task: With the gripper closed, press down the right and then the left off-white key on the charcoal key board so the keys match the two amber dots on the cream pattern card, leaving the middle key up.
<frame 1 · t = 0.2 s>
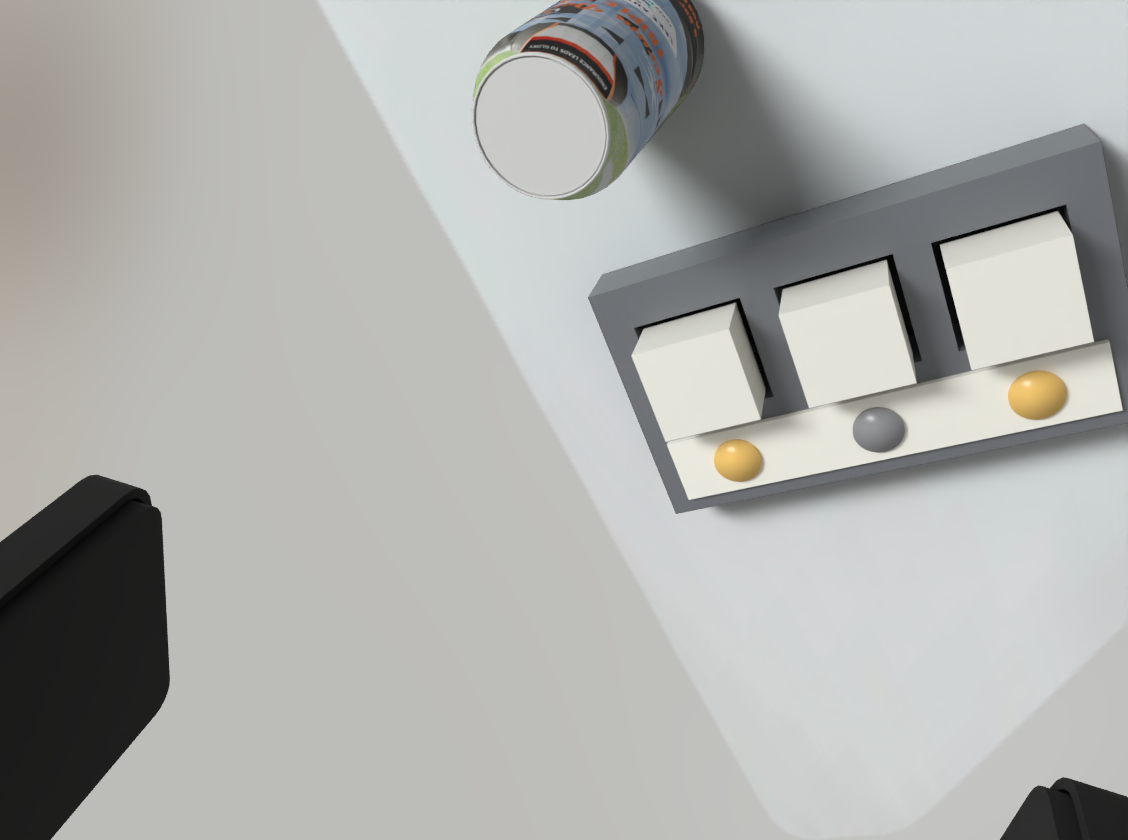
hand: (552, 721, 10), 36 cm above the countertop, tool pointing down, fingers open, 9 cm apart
middle key: (847, 334, 41), point 4 cm above the countertop, slide at 0.0 cm
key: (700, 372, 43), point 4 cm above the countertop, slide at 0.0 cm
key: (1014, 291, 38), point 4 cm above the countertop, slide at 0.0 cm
beverage can: (627, 53, 42), on the countertop
key board: (856, 328, 45), on the countertop
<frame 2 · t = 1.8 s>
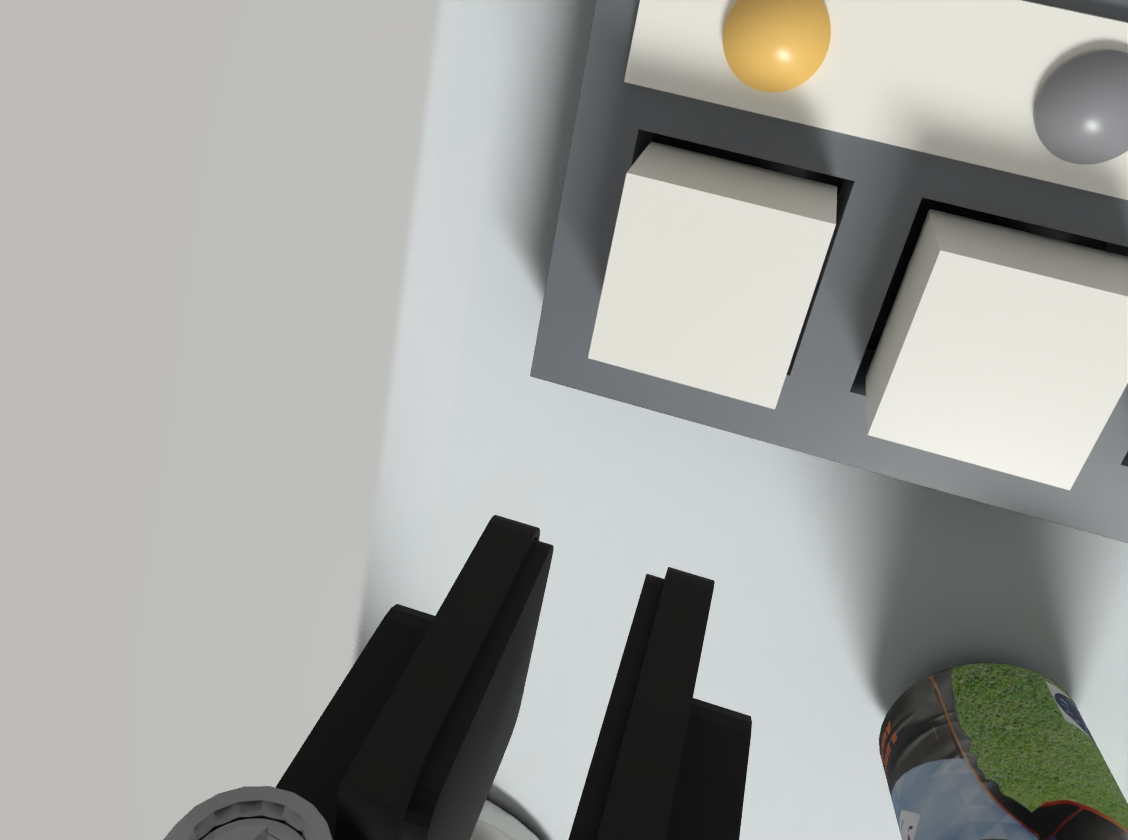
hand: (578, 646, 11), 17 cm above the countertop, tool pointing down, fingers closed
middle key: (998, 346, 21), point 4 cm above the countertop, slide at 0.0 cm
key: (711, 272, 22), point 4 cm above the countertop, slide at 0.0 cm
beverage can: (997, 709, 31), on the countertop
key board: (1000, 228, 24), on the countertop
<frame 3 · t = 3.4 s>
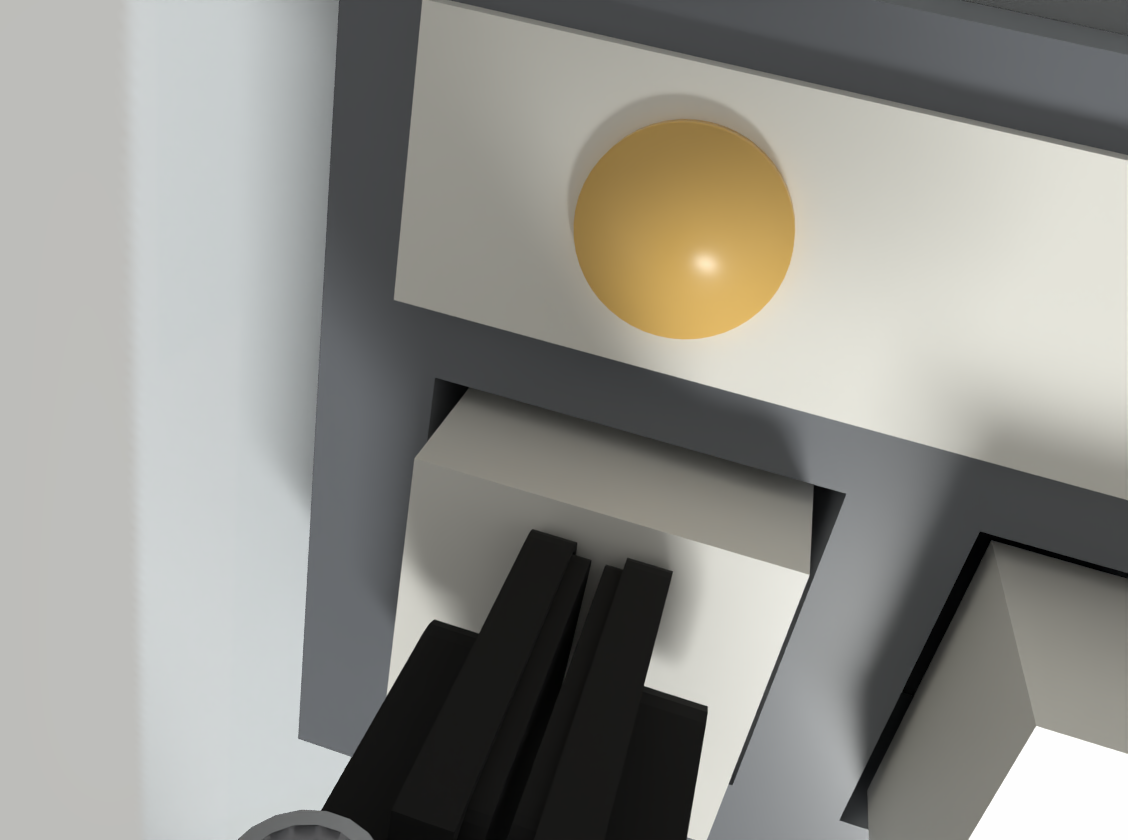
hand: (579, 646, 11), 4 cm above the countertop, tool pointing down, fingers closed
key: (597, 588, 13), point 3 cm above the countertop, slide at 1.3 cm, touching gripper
key board: (1105, 521, 14), on the countertop
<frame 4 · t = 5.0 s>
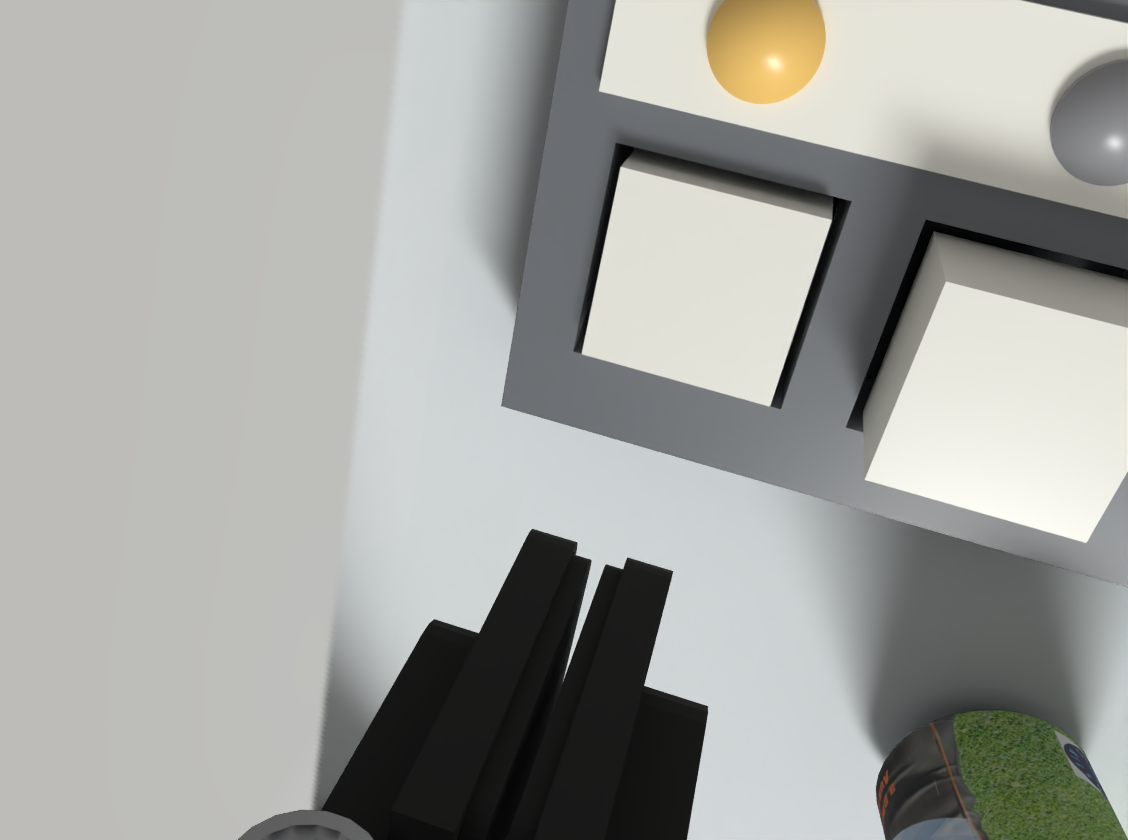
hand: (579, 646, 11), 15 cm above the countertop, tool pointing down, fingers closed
middle key: (1008, 383, 20), point 4 cm above the countertop, slide at 0.0 cm
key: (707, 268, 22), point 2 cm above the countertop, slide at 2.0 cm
beverage can: (1002, 755, 29), on the countertop
key board: (1010, 249, 22), on the countertop
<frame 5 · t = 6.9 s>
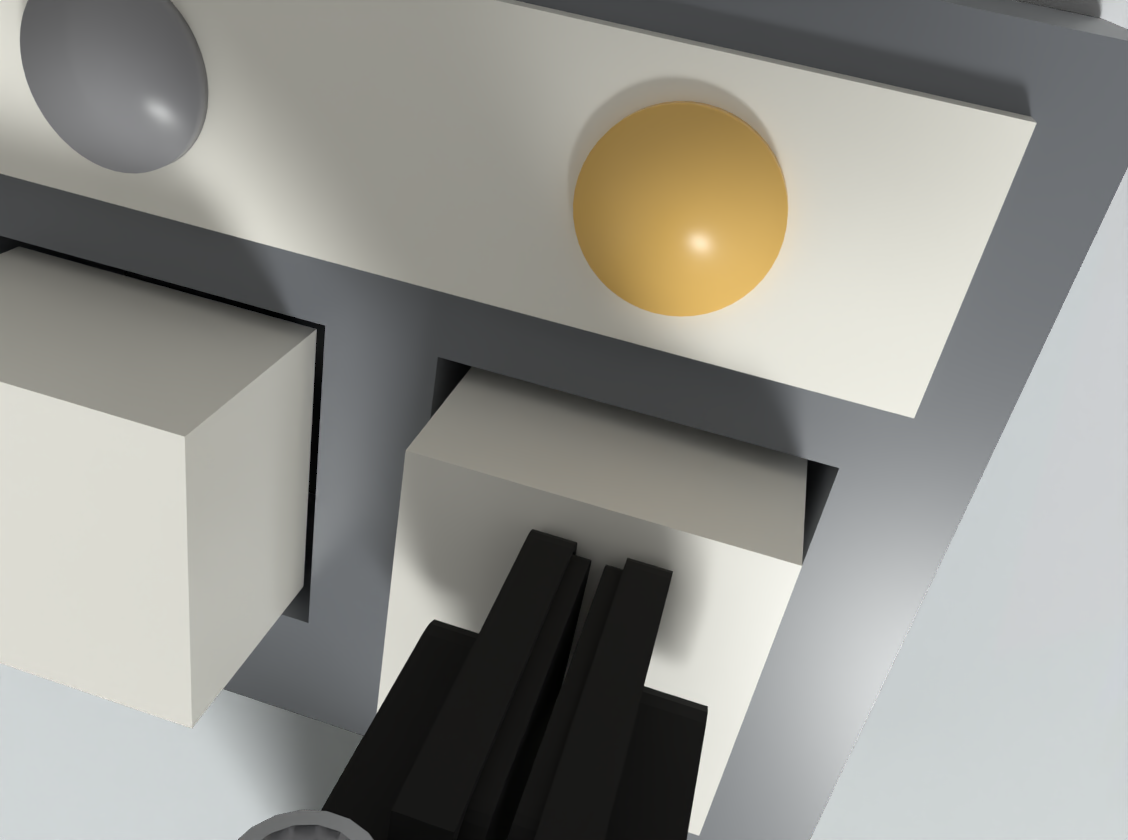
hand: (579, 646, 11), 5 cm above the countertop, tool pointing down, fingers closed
middle key: (102, 478, 13), point 4 cm above the countertop, slide at 0.0 cm
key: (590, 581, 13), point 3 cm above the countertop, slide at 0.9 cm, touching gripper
key board: (262, 272, 16), on the countertop
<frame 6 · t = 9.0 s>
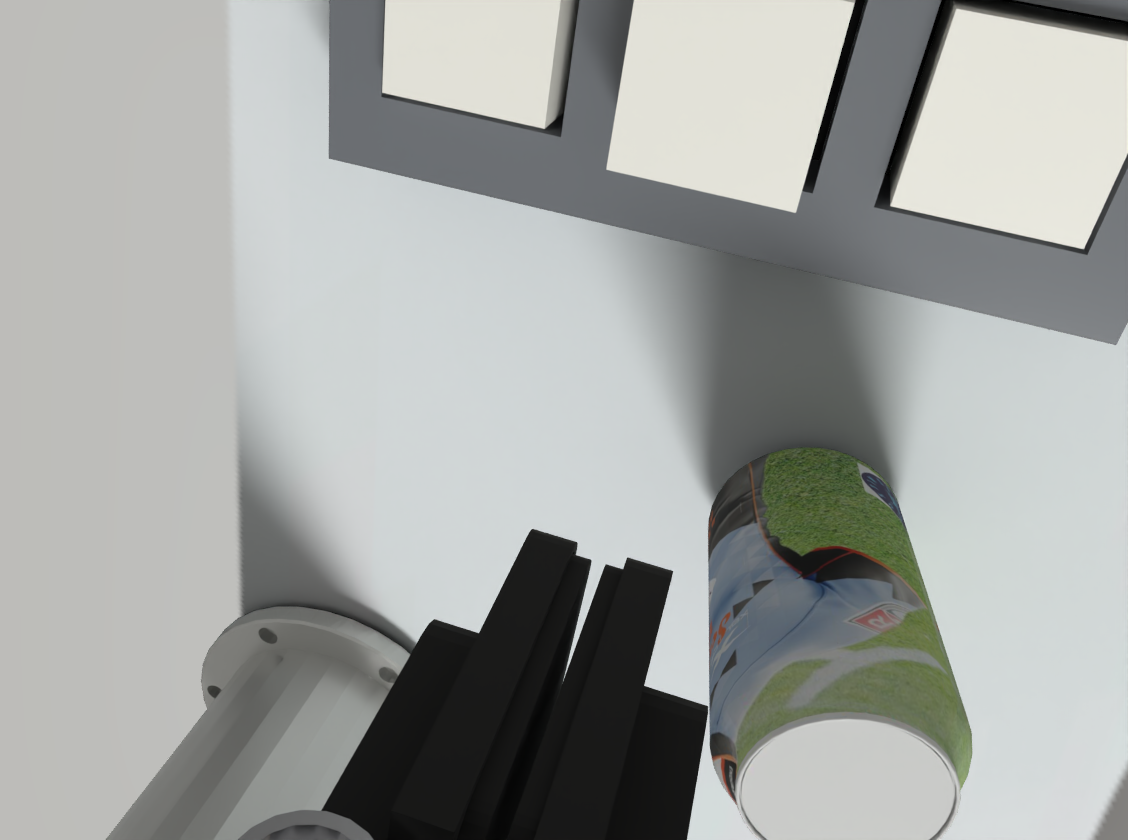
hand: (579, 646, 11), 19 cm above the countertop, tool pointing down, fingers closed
middle key: (730, 78, 22), point 4 cm above the countertop, slide at 0.0 cm
beverage can: (828, 504, 32), on the countertop
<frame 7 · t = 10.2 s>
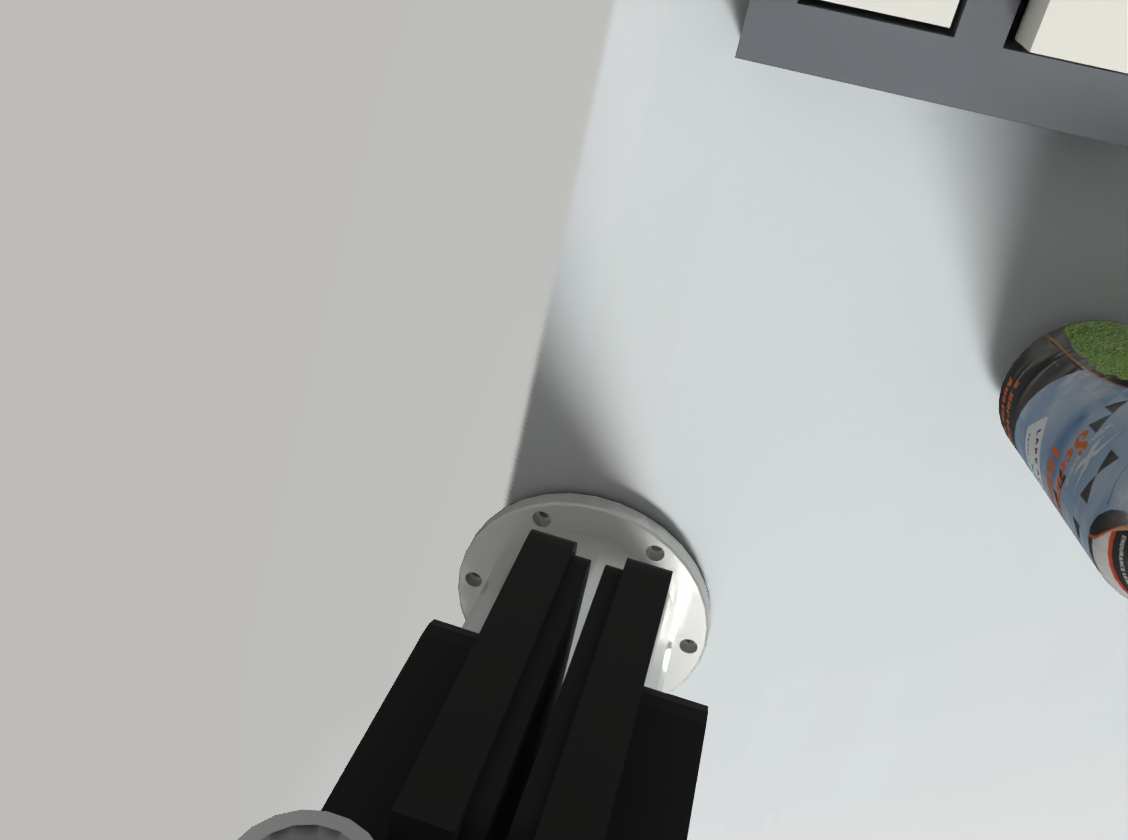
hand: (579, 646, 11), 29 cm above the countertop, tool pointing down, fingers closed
beverage can: (1096, 378, 37), on the countertop
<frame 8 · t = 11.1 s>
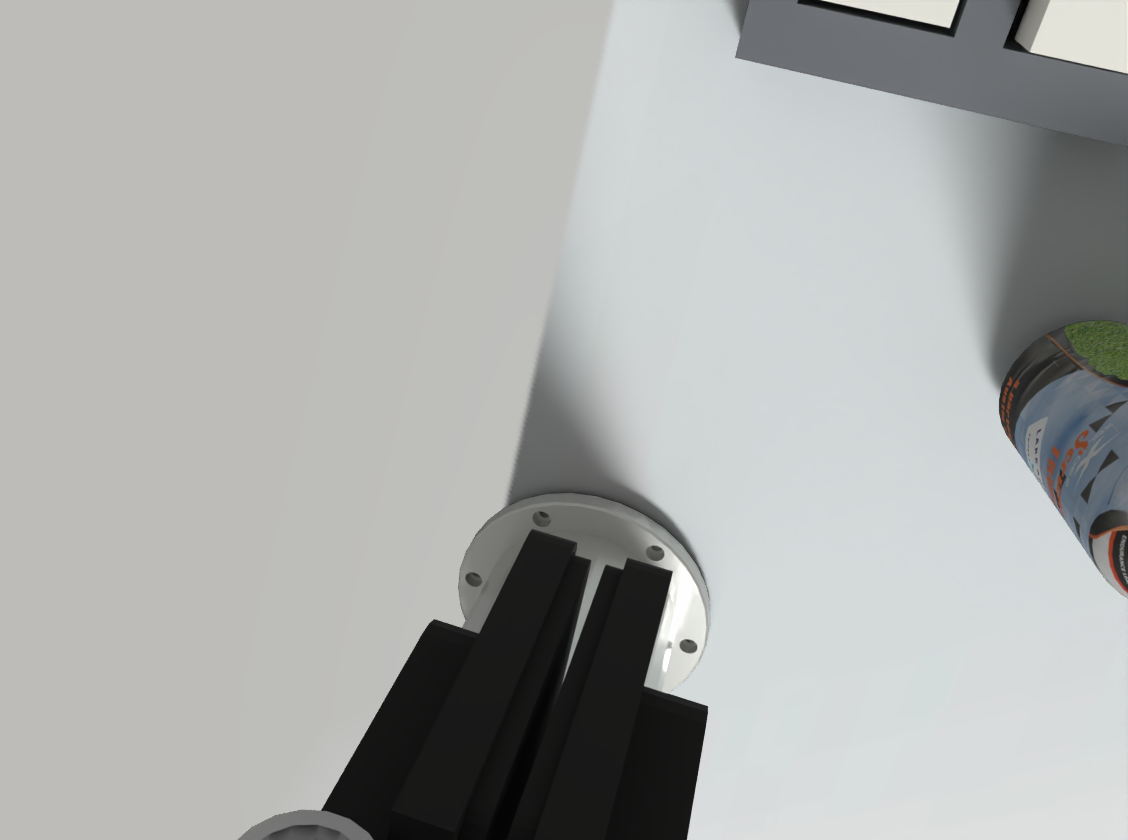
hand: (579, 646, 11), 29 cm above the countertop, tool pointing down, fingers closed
beverage can: (1096, 378, 37), on the countertop
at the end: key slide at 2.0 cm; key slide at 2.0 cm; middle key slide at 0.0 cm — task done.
